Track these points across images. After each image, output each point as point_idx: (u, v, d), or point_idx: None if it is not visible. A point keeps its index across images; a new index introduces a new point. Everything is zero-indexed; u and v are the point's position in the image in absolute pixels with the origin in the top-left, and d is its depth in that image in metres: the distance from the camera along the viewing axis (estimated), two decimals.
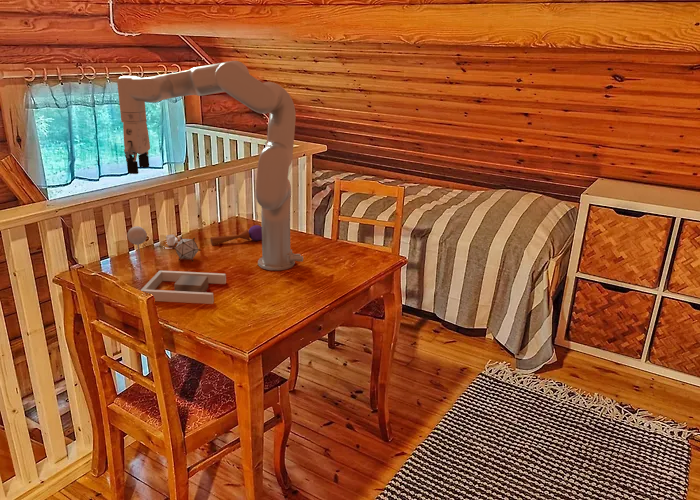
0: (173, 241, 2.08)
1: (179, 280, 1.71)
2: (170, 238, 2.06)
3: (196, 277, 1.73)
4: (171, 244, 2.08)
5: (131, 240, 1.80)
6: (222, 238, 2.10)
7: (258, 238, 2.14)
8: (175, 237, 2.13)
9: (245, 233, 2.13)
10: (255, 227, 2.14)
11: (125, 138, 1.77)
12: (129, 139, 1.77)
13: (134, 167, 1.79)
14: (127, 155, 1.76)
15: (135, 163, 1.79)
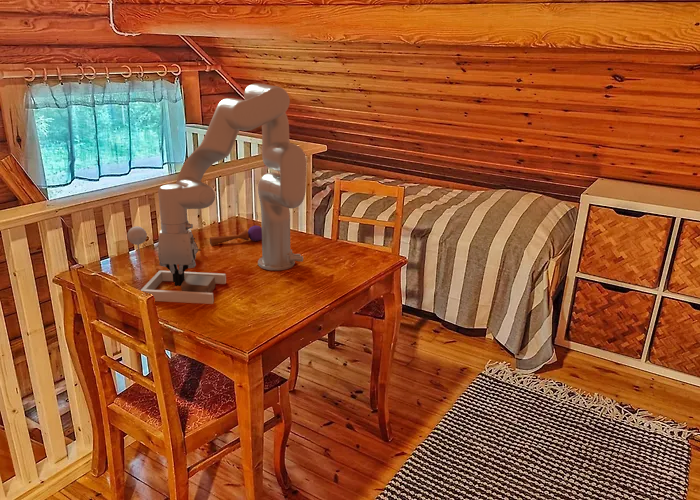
0: None
1: (186, 280, 1.71)
2: None
3: (203, 277, 1.74)
4: None
5: (131, 240, 1.80)
6: (221, 238, 2.10)
7: (257, 238, 2.14)
8: None
9: (244, 233, 2.13)
10: (254, 227, 2.14)
11: (190, 248, 1.66)
12: (192, 247, 1.67)
13: None
14: None
15: None
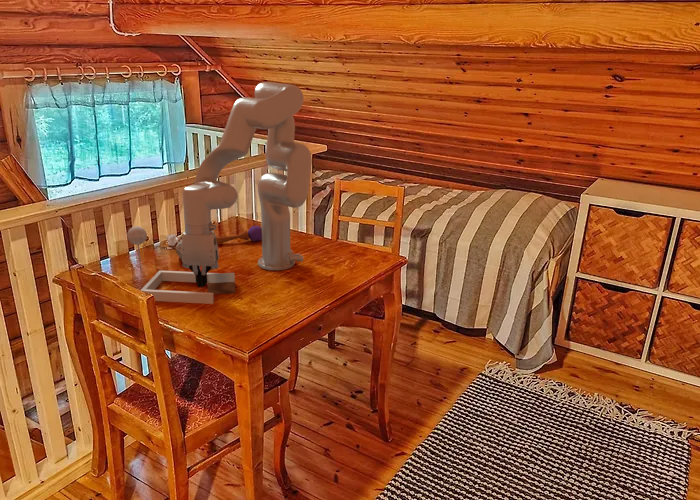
0: (174, 241, 2.08)
1: (209, 279, 1.72)
2: (171, 238, 2.07)
3: (224, 274, 1.76)
4: (172, 244, 2.08)
5: (131, 240, 1.80)
6: (221, 238, 2.10)
7: (257, 239, 2.14)
8: (176, 237, 2.13)
9: (244, 233, 2.13)
10: (254, 228, 2.13)
11: (214, 249, 1.66)
12: (216, 249, 1.67)
13: None
14: None
15: None
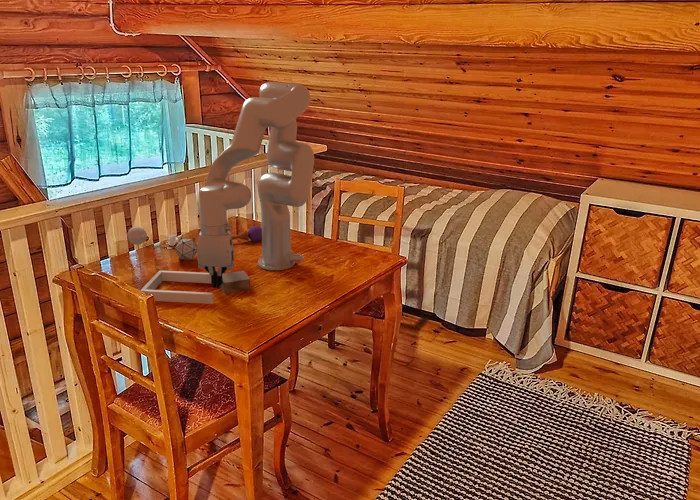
0: (174, 241, 2.08)
1: (224, 278, 1.73)
2: (171, 238, 2.07)
3: (235, 273, 1.77)
4: (172, 244, 2.08)
5: (131, 240, 1.80)
6: None
7: (257, 239, 2.14)
8: (176, 237, 2.13)
9: (244, 233, 2.12)
10: (254, 228, 2.13)
11: (230, 250, 1.66)
12: (231, 249, 1.67)
13: None
14: None
15: None
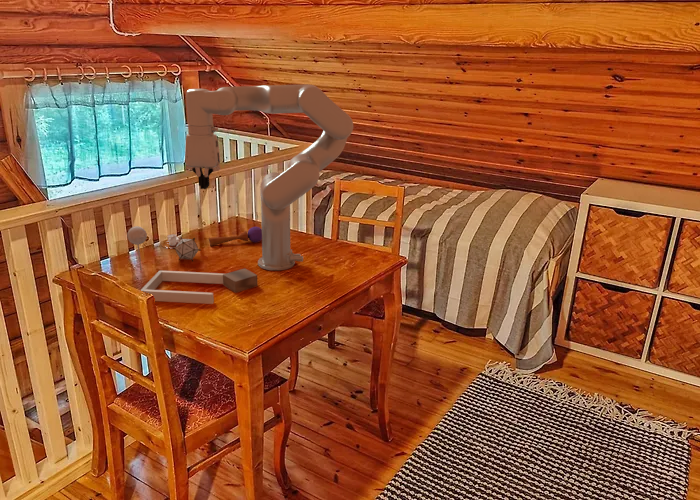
0: (174, 241, 2.08)
1: (231, 278, 1.74)
2: (171, 238, 2.07)
3: (238, 271, 1.78)
4: (172, 244, 2.08)
5: (131, 240, 1.80)
6: (220, 239, 2.09)
7: (257, 240, 2.13)
8: (176, 237, 2.13)
9: (244, 234, 2.12)
10: (254, 228, 2.12)
11: (216, 151, 1.76)
12: (217, 151, 1.77)
13: None
14: None
15: None
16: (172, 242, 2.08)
